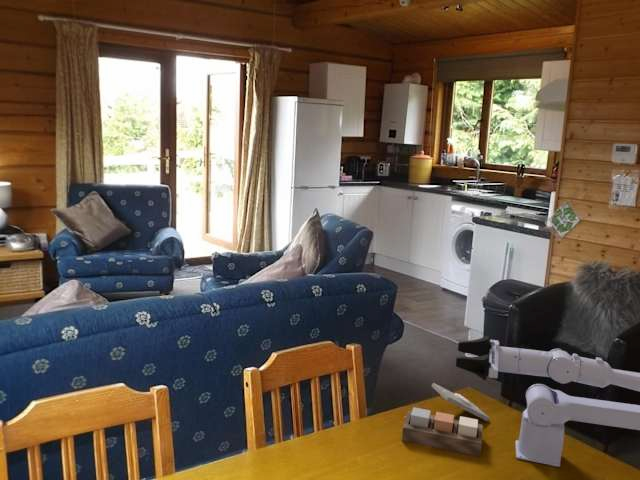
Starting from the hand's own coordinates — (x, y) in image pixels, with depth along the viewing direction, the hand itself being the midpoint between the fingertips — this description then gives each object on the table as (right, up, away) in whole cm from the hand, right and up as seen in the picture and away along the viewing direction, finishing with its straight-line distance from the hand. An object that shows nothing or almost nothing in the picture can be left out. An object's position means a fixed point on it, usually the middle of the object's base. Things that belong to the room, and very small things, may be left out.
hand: (457, 353), depth 142 cm
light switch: (+4, -19, +15) cm, 25 cm away
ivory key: (+3, -19, +1) cm, 19 cm away
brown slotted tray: (-3, -21, +3) cm, 21 cm away
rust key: (-3, -18, +2) cm, 19 cm away
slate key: (-8, -18, +4) cm, 20 cm away
